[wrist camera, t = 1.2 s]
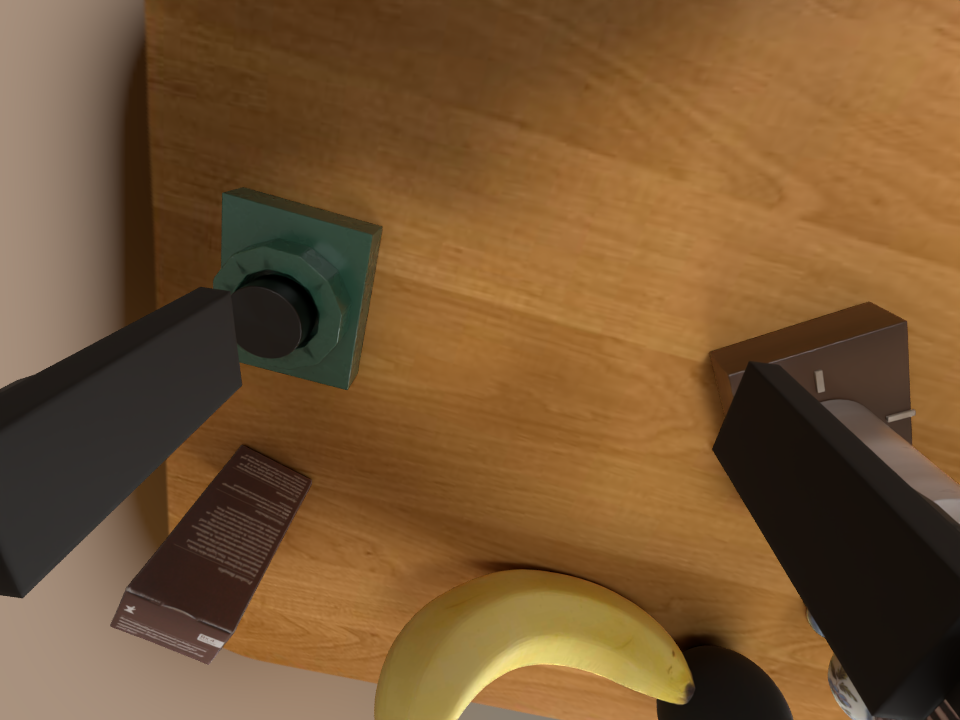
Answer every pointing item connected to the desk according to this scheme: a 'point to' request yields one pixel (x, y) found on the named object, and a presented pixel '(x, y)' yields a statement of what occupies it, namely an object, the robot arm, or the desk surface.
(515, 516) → the desk surface
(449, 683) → the banana
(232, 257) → the button box
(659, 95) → the desk surface
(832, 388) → the dial panel
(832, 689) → the apothecary jar
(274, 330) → the button
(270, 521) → the box
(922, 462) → the dial
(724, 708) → the decorative ball
